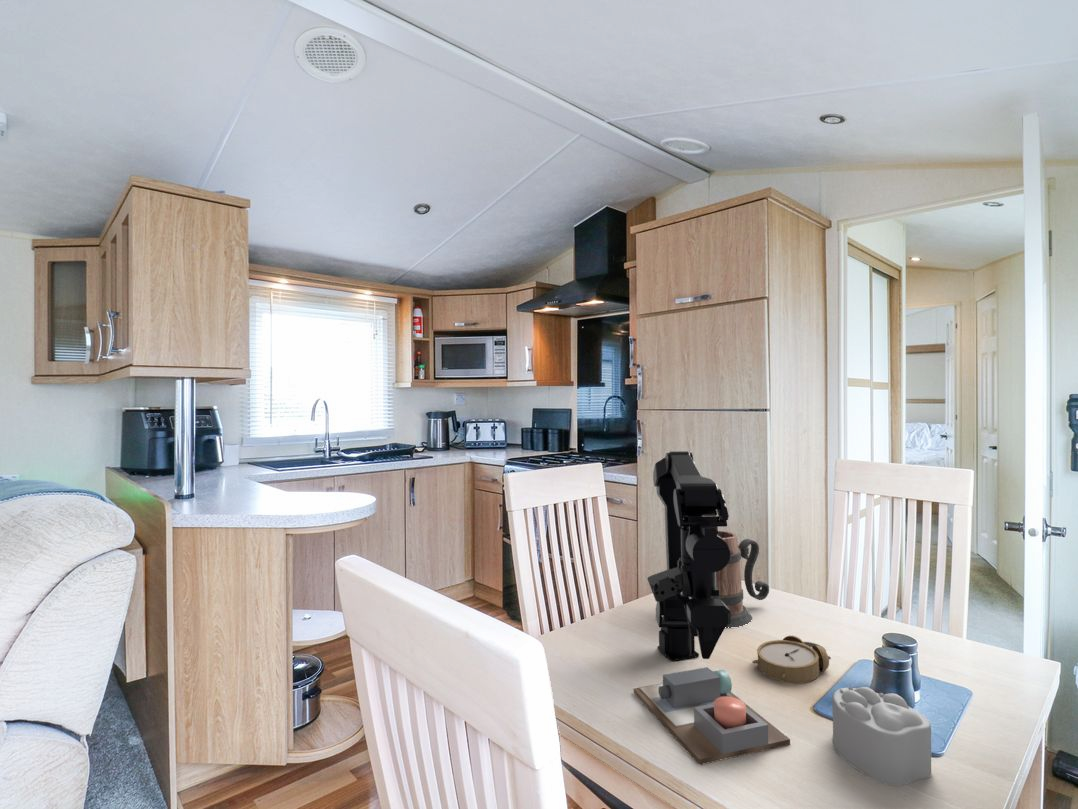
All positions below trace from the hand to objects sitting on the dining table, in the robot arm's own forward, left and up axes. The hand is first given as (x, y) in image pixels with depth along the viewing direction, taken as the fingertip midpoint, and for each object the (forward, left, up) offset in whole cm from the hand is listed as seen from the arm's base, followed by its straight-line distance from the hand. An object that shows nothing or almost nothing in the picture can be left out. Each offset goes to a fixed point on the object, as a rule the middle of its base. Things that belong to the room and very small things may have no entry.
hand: (699, 646), depth 101 cm
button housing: (0, +8, -11) cm, 14 cm away
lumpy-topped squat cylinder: (-18, +18, -12) cm, 28 cm away
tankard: (-31, -38, -12) cm, 50 cm away
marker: (0, -3, -10) cm, 11 cm away
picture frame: (0, +1, -11) cm, 11 cm away
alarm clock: (-27, -9, -12) cm, 30 cm away
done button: (0, +8, -9) cm, 12 cm away
